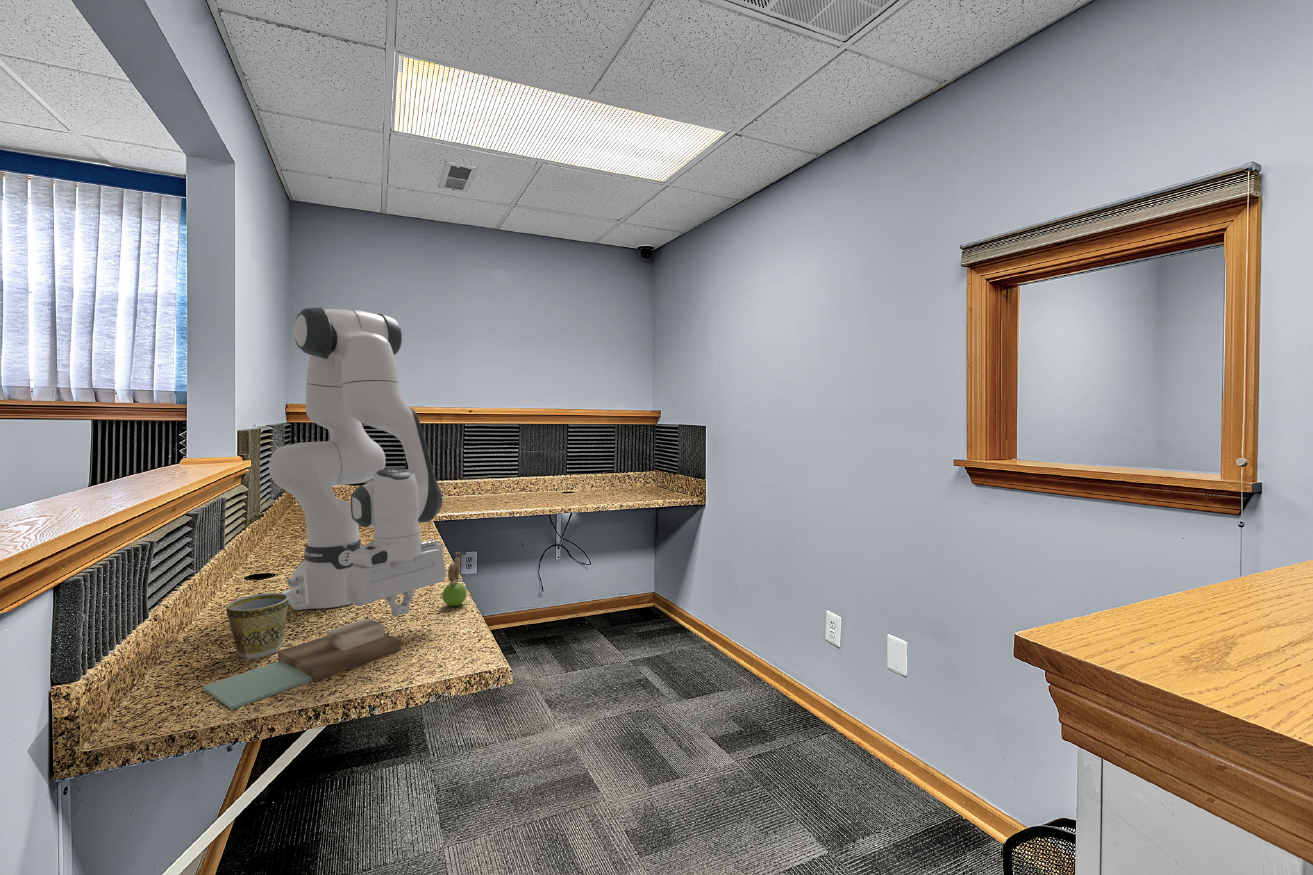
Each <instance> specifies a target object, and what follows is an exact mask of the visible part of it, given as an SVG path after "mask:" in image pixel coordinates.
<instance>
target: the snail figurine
mask: <svg viewBox="0 0 1313 875" xmlns="http://www.w3.org/2000/svg"><path fill="white" fill-rule="evenodd" d="M455 555H456V557H455V559H454V562H451V563H450V565H449V566H448V570H447V577H448V580H449V581H450V582H449V584H447V585H446V586H445V587H444V589H443V591H442V595H441V596H442V600H443V602H444V603H445V604H446V605H447V606H449V607H457V606H460V605H462V604H463V603H464V602H465V600H466V598H467V589H466V587H465V586H464V585H463V584H462V583H461V582H460V583H459V582H458V581H459V578H460V573H461V558H460V557H461V556H460V555H461V552H457V551H456V552H455Z"/></svg>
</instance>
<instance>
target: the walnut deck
mask: <svg viewBox="0 0 1313 875" xmlns="http://www.w3.org/2000/svg"><path fill="white" fill-rule="evenodd" d="M401 650H402V639H401V638H398V637H396V636H393V635H389V634H387V633H385V632H384V637H382V638H379V639H377V640H374V641H371V642H368V643H365V644H362V645H359V646H356V647H353V648H350V649H348V650H345V651H343V650H341V649H338V648H336V647H334V646H332V645H330V644H327V635H326V636H322V637H318V638H315V639H312V640H309V641H306V642H303V643H299V644H297V645H294V646H290V647H287V648H284V649H281V650H278V651H277V662H278V661H283V662H284V663H286V664H288V665H290V666H292V667H294V668H296V669H297V670H299V671H301V672H303V673H305V674H307V675H309V676H310V677H312V681H313V682H318V681H321V680H323V679H326V678H329V677H331V676H334V675H337V674H340V673H342V672H345V671H348V670H351V669H354V668H355V667H358V666H361V665H363V664H367V663H369V662H372V661H375V660H377V659H380V658H382V657H385V656H388V655H391V654H393V653H395V652H398V651H401Z"/></svg>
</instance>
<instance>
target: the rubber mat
mask: <svg viewBox="0 0 1313 875" xmlns="http://www.w3.org/2000/svg"><path fill="white" fill-rule="evenodd" d="M311 681H313V680H312V677H310V676H309V675H307V674H305V673H303V672H301V671H299V670H297V669H296V668H294V667H292V666H290V665H288V664H286V663H284V662H283V661H278V660H277V661H275V662H273V663H272V662H271V663H268V664H266V665H263V666H260V667H257V668H253V669H251V670H248V671H247V670H246V671H245V672H242V673H239V674H235V675H233V676H229V677H225V679H224V678H223V679H221V680H218V681H214V682H211V683H208V684H206V685H203V686H202V690H203V691H204V692H206V693H207V694H209V695H210V696H212V697H213V698H214V699H216V700H217V701H218V702H220V703H221V704H223V705H224V706H225V707H227V709H230V711H232V710H236V709H238V708H241V707H244V706H247V705H250V704H253V703H254V702H258V701H260V700H262V699H265V698H268V697H272V696H274V695H276V694H280V693H282V692H285V691H286V690H289V689H292V688H295V687H297V686H301V685H304V684H306V683H309V682H311Z"/></svg>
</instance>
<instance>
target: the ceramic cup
mask: <svg viewBox="0 0 1313 875" xmlns="http://www.w3.org/2000/svg"><path fill="white" fill-rule="evenodd" d="M281 593H282V592H281ZM281 593H280V592H279V593H278V592H276V593H275V592H274V593H273V592H271V593H270V592H269V593H261V594H260V593H259V594H255V595H254V594H253V595H249V596H245V597H241V598H238V599H236V600H233V601H231V602H229V603H228V604H227V605H226V606H225V610H226V616H227V618H228V619H227V620H228V622H229V626H230V629H231V632H232V635H233V636H232V637H233V639H234V643H235V647H236V650H237V653H238V654H237V655H238V656H239V657H240V658H243V659H245V660H253V659H254V660H255V659H262V658H264V657H267V656H270V655H274V654H275V653H278V651H280V648H281V646H282V644H283V638H284V632H285V625H286V624H285V623H286V618H287V613H288V608H289V607H288V606H289V604H288V600H289V597H288V595H286V594H281Z"/></svg>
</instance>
